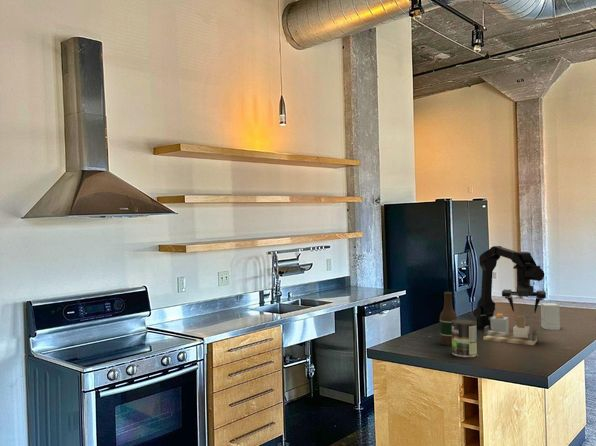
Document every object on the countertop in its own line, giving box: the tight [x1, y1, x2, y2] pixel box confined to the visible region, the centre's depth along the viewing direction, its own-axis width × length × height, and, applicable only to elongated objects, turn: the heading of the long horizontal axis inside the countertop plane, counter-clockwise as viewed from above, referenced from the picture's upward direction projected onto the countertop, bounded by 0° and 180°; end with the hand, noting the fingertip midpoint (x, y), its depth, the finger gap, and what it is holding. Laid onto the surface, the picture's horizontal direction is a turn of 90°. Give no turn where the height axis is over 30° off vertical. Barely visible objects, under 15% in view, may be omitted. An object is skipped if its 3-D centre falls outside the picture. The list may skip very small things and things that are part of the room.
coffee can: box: [451, 318, 478, 358], centre depth 216 cm, size 10×10×14 cm
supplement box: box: [540, 302, 561, 331], centre depth 264 cm, size 7×7×13 cm
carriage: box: [512, 315, 530, 338], centre depth 236 cm, size 6×6×9 cm
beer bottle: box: [439, 291, 458, 347], centre depth 235 cm, size 8×8×24 cm
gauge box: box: [490, 315, 510, 333], centre depth 253 cm, size 7×7×8 cm
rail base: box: [482, 326, 538, 346], centre depth 239 cm, size 22×10×6 cm, turn 57°
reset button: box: [495, 312, 504, 319], centre depth 253 cm, size 3×3×3 cm
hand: (524, 312), depth 238 cm, fingers open, 9 cm apart
